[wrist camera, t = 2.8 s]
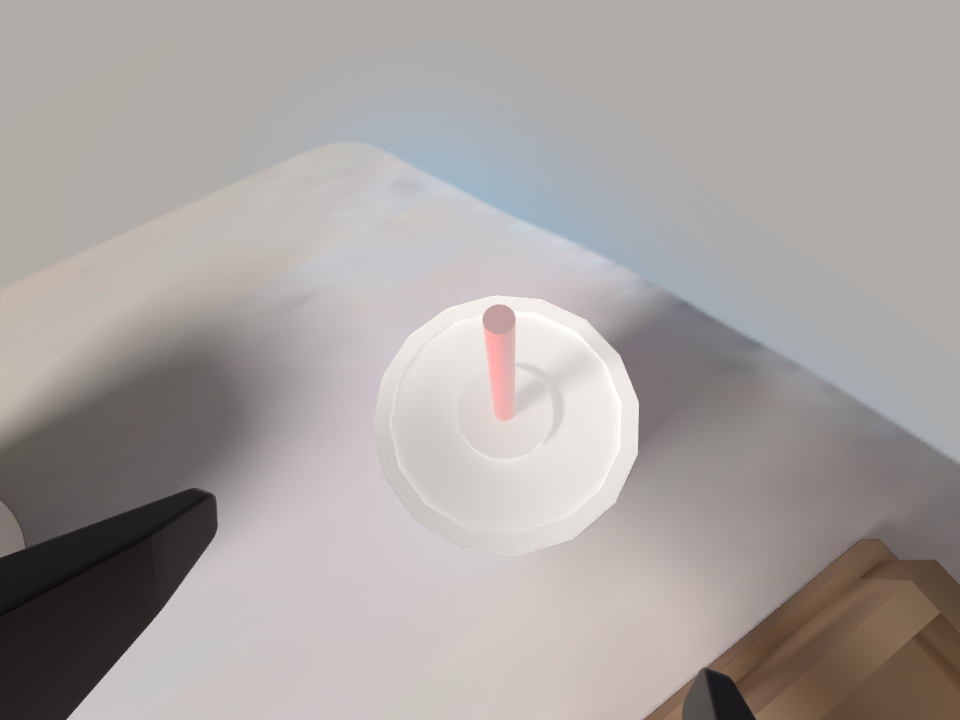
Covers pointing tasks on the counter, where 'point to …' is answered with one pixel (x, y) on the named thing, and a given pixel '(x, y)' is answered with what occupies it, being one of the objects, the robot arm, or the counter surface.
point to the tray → (853, 646)
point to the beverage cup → (506, 425)
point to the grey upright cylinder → (9, 532)
